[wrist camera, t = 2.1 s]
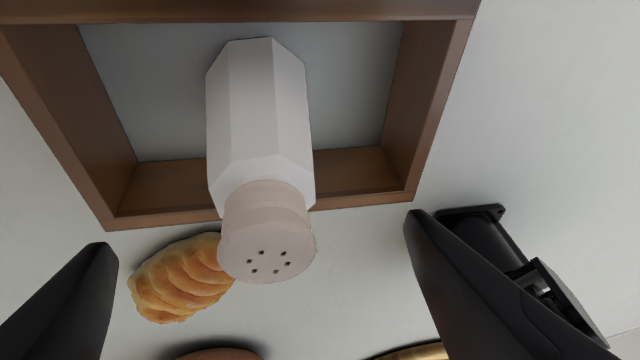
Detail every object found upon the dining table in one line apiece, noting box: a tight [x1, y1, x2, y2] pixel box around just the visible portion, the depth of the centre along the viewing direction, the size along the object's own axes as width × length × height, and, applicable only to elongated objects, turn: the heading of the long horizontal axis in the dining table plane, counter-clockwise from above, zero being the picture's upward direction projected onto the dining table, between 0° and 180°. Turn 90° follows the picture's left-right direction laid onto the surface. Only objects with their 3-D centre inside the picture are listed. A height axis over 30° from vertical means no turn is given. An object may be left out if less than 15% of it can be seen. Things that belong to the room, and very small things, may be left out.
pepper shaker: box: [206, 37, 317, 284], centre depth 13 cm, size 5×5×11 cm
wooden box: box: [0, 0, 481, 232], centre depth 15 cm, size 17×11×4 cm, turn 88°
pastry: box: [127, 231, 235, 324], centre depth 24 cm, size 9×7×4 cm
